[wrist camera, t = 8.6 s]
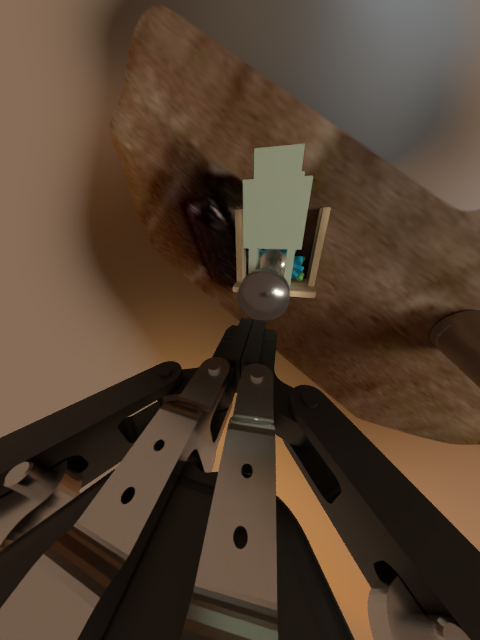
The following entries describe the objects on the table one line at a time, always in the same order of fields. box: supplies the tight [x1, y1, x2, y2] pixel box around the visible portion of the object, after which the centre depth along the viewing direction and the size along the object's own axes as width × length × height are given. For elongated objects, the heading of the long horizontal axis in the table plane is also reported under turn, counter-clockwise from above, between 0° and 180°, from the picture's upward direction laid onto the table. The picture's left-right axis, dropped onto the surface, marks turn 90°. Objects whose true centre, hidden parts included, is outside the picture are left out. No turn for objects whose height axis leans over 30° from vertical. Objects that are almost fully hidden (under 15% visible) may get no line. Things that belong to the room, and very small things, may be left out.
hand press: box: [243, 144, 313, 289], centre depth 24 cm, size 6×13×17 cm, turn 1°
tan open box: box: [233, 207, 331, 298], centre depth 31 cm, size 14×13×7 cm
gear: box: [260, 249, 306, 281], centre depth 32 cm, size 11×6×10 cm
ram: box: [237, 249, 290, 321], centre depth 19 cm, size 4×4×11 cm
